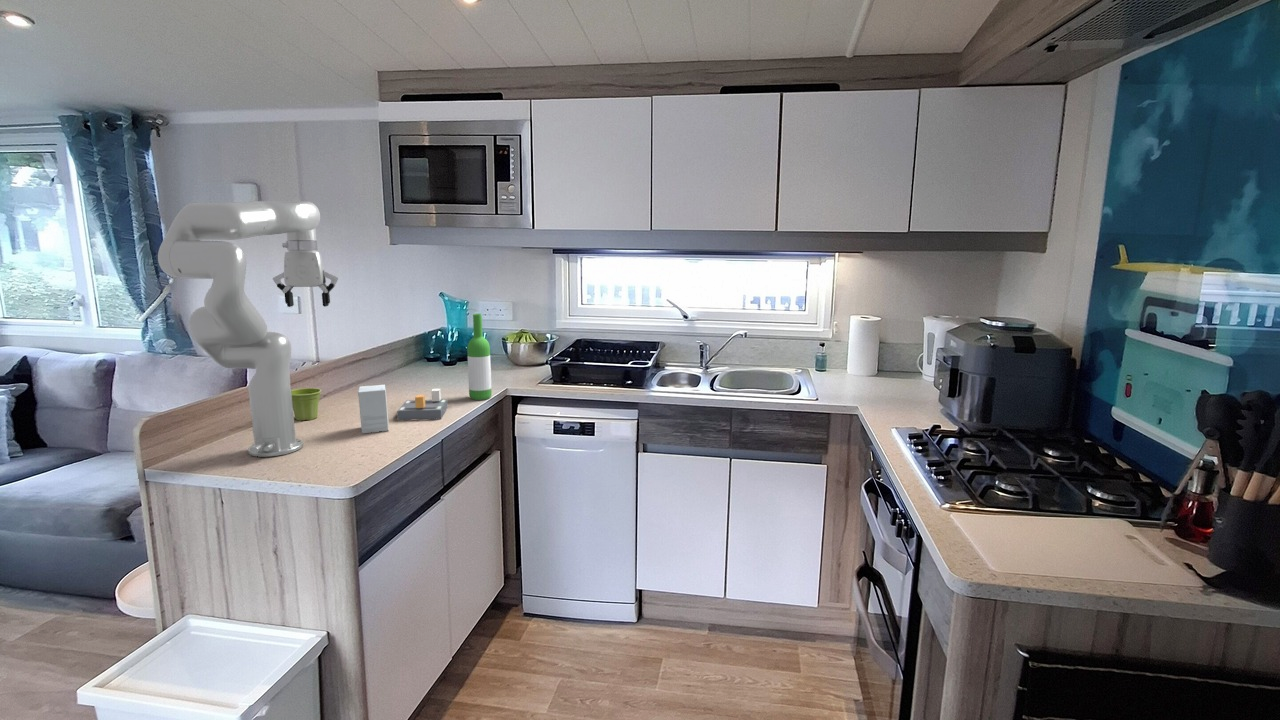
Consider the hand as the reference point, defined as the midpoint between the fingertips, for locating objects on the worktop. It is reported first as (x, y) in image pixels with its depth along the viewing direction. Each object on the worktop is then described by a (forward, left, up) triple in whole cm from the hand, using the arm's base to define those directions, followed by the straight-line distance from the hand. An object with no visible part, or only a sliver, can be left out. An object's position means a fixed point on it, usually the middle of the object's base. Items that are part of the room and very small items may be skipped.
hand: (308, 306), depth 183 cm
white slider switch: (+11, -33, -32) cm, 47 cm away
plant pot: (+6, +6, -36) cm, 37 cm away
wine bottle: (+26, -45, -36) cm, 63 cm away
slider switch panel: (+7, -29, -36) cm, 47 cm away
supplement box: (-8, -18, -36) cm, 41 cm away
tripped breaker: (+3, -29, -32) cm, 44 cm away
